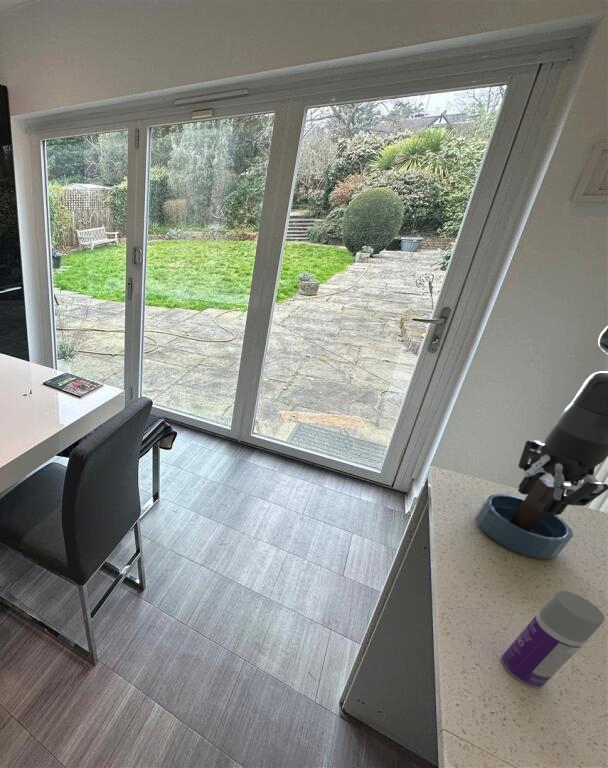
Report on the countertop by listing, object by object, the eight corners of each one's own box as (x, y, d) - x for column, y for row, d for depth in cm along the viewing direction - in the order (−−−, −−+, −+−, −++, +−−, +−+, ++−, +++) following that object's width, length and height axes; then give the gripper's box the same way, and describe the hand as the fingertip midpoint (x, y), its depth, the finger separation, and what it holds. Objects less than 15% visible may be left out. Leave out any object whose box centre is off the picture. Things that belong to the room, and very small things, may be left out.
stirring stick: (516, 529, 84) (550, 480, 78) (525, 537, 82) (561, 487, 76) (505, 528, 84) (538, 479, 78) (513, 536, 82) (548, 486, 76)
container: (492, 651, 63) (544, 587, 56) (526, 656, 62) (583, 592, 55) (516, 685, 58) (575, 621, 51) (552, 691, 58) (617, 626, 51)
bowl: (521, 515, 88) (534, 496, 86) (575, 564, 77) (592, 544, 75) (459, 510, 89) (471, 490, 87) (505, 557, 78) (519, 537, 76)
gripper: (656, 457, 65) (593, 533, 73) (572, 411, 78) (526, 480, 85) (604, 453, 65) (547, 529, 73) (529, 408, 78) (488, 477, 86)
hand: (536, 502), depth 79 cm, fingers open, 5 cm apart
